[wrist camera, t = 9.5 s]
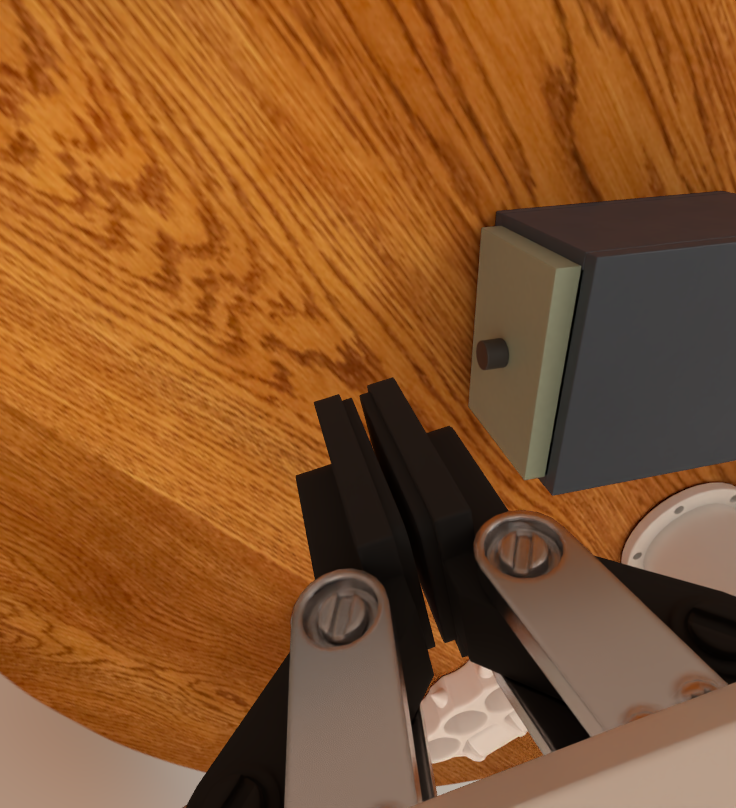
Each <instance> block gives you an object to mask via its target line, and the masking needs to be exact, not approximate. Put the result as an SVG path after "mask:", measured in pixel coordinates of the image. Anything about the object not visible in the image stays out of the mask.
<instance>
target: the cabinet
mask: <svg viewBox="0 0 736 808" xmlns="http://www.w3.org/2000/svg"><path fill="white" fill-rule="evenodd" d="M495 226H503V227H505V228H507V229H509V230H511V231H513V232H515V233H517V234H519V235H521V236H523V237H525V238H527V239H529V240H531V241H533V242H535V243H537V244H539V245H541V246H543V247H545V248H547V249H549V250H551V251H553V252H555V253H557V254H559V255H561V256H563V257H565V258H567V259H568V260H570V261H572V262H574V263H576V264H578V265H580V266H581V270H583V277H582V282H581V288H580V294H579V299H578V305H577V310H576V316H575V322H574V327H573V333H572V338H571V344H570V350H569V355H568V361H567V366H566V372H565V377H564V383H563V389H562V394H561V400H560V405H559V411H558V417H557V422H556V428H555V433H554V439H553V443H552V442H551V443H550V449H549V455H548V460H547V466H546V472H545V476H544V477H539V478H538V479H539V480H540V481H541V482H542V484H543V485H544V486H545V487H546V488H547V490H548V491H549V492H550V493H551V495H558V494H564V493H569V492H574V491H579V490H584V489H589V488H595V487H600V486H605V485H610V484H615V483H621V482H626V481H631V480H636V479H641V478H646V477H652V476H657V475H662V474H667V473H672V472H678V471H683V470H688V469H693V468H698V467H703V466H709V465H714V464H719V463H724V462H729V461H735V460H736V194H735V193H730V192H725V191H715V192H704V193H693V194H682V195H670V196H659V197H648V198H637V199H626V200H614V201H603V202H592V203H581V204H570V205H559V206H547V207H536V208H525V209H514V210H503V211H497V212H496V222H495Z"/></svg>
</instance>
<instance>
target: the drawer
mask: <svg viewBox="0 0 736 808" xmlns="http://www.w3.org/2000/svg"><path fill="white" fill-rule="evenodd" d="M582 277H583V270H581V266H580V265H578V264H576V263H574V262H572V261H570V260H568V259H567V258H565V257H563V256H561V255H559V254H557V253H555V252H553V251H551V250H549V249H547V248H545V247H543V246H541V245H539V244H537V243H535V242H533V241H531V240H529V239H527V238H525V237H523V236H521V235H519V234H517V233H515V232H513V231H511V230H509V229H507V228H505V227H503V226H493V227H482V229H481V243H480V256H479V270H478V283H477V297H476V310H475V324H474V337H473V351H472V364H471V378H470V391H469V405H468V406H469V408H470V409H471V410H472V412H473V413H474V414H475V416H476V417H477V418H478V420H479V421H480V422H481V424H482V425H483V426H484V428H485V429H486V430H487V432H488V433H489V434H490V436H491V437H492V438H493V440H494V441H495V442H496V443H497V445H498V446H499V447H500V449H501V450H502V451H503V453H504V454H505V455H506V457H507V458H508V459H509V461H510V462H511V463H512V465H513V466H514V467H515V469H516V470H517V471H518V472H519V474H520V475H521V476H522V478H523V479H524V480H529V479H534V478H539V477H544V476H545V472H546V466H547V460H548V455H549V449H550V443H551V442H552V443H553V439H554V433H555V428H556V422H557V417H558V411H559V405H560V400H561V394H562V389H563V383H564V377H565V372H566V366H567V361H568V355H569V350H570V344H571V338H572V333H573V327H574V322H575V316H576V310H577V305H578V299H579V294H580V288H581V282H582Z"/></svg>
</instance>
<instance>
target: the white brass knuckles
mask: <svg viewBox="0 0 736 808" xmlns="http://www.w3.org/2000/svg"><path fill="white" fill-rule="evenodd" d="M421 706H422V709H423V714H424V720H425V726H426V732H427V738H428V744H429V750H430V755H431V761H432V763H438V762H442V761H445V760H448V759H450V758H452V757H458V756H467V757H468V758H470V759H472V760H473V761H478V762H481V761H483V760H484V759H485V758H486V756H487V755H488V754H490V753H492V752H493V751H495V750H497V749H498V748H500V747H502V746H503V745H505V744H507V743H509V742H510V741H512V740H514V739H515V738H517V737H522V736H524V735H525V734H526V732H527V731H528V730H527V728H526V727H525V725H524V724H523V722H522V721H521V719H520V718H519V716H518V715H517V713H516V711H515V710H514V708H513V707H512V705H511V704H510V702H509V701H508V699H507V697H506V696H505V694H504V693H503V691H502V690H501V688H500V687H499V685H498V683H497V681H496V679H495V677H494V675H493V673H492V671H491V670H489V669H487V668H484V667H482V666H480V665H477V664H475V663H473V662H471V661H470V660H469V661H468V662H467V663H466V664H465V665H464V666H463V667H461V668H460V669H458V670H457V671H455V672H453V673H451V674H448V675H445V676H443V677H441V678H440V679H439V680H438V681H437V682H436V683H435V684H434V685H433V686H432V687H431V688H430V690H429V693H428V694H427V696H426V697H425V698H424V699H423V700H422V701H421Z"/></svg>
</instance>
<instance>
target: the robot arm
mask: <svg viewBox="0 0 736 808" xmlns="http://www.w3.org/2000/svg"><path fill="white" fill-rule="evenodd" d="M367 388H368V393H365V394H362V395H360V401H361V405H362V408H363V412H364V416H365V420H366V423H367V427H368V431H369V435H370V438H371V442H372V446H373V448H372V446H371V443H370V441H369V438H368V436H367V433H366V431H365V429H364V426H363V424H362V421H361V419H360V417H359V414H358V412H357V409H356V407H355V405H354V402H353V400H352V398H349V399H346V400H343V401H342V400H341V397H340V395H339V394H338V395H335V396H332V397H329V398H325V399H322V400H319V401H316V402H314V405H315V409H316V412H317V416H318V419H319V423H320V426H321V429H322V433H323V436H324V440H325V443H326V447H327V450H328V453H329V457H330V460H331V464H330V465H327V466H324V467H321V468H318V469H314V470H311V471H308V472H305V473H302V474H299V475H296V482H297V487H298V493H299V498H300V503H301V508H302V514H303V519H304V524H305V529H306V535H307V540H308V545H309V550H310V556H311V561H312V566H313V571H314V577H315V580H314V581H313V582H311V583H310V584H309V585H308V587H307V588H306V589H305V590H304V591H303V592H302V593H301V594H300V596H299V598H298V600H297V602H296V604H295V606H294V609H293V614H292V619H291V641H290V653H289V654H288V655H287V657H286V658H285V660H284V661H283V663H282V664H281V666H280V667H279V668H278V670H277V671H276V673H275V674H274V676H273V677H272V679H271V680H270V681H269V683H268V684H267V686H266V687H265V689H264V690H263V692H262V693H261V694H260V696H259V697H258V699H257V700H256V702H255V703H254V705H253V706H252V707H251V709H250V710H249V712H248V713H247V715H246V716H245V718H244V719H243V720H242V722H241V723H240V725H239V726H238V728H237V729H236V731H235V732H234V733H233V735H232V736H231V738H230V739H229V741H228V742H227V744H226V745H225V746H224V748H223V749H222V751H221V752H220V754H219V755H218V757H217V758H216V759H215V761H214V762H213V764H212V765H211V767H210V768H209V770H208V771H207V772H206V774H205V775H204V777H203V778H202V780H201V781H200V783H199V784H198V786H197V787H196V789H195V791H194V793H193V795H192V796H191V798H190V800H189V802H188V804H187V805H186V806H184V807H183V808H736V487H735V486H733V485H731V484H727V483H722V482H721V483H707V484H702V485H697V486H694V487H691V488H688V489H685V490H683V491H681V492H679V493H677V494H675V495H673V496H671V497H670V498H668V499H667V500H665V501H664V502H662V503H660V504H659V505H658V506H657V507H655V508H654V509H653V510H652V511H650V512H649V513H648V514H647V515H646V516H645V517H644V518H643V519H642V520H641V521H640V522H639V524H638V525H637V526H636V527H635V529H634V530H633V531H632V533H631V535H630V536H629V538H628V540H627V542H626V544H625V547H624V550H623V553H622V560H621V563H619V562H615V561H611V560H608V559H604V558H601V557H597V556H594V555H593V554H592V553H591V552H590V551H589V550H588V549H586V548H585V547H584V546H583V545H582V544H581V543H580V542H579V541H578V540H577V539H576V538H575V537H574V536H573V535H572V534H571V533H570V532H569V531H568V530H567V529H566V528H565V527H564V526H562V525H561V524H560V523H558V522H557V521H555V520H554V519H553V518H551V517H549V516H546V515H544V514H541V513H538V512H533V511H526V510H518V511H508V509H507V508H506V507H505V505H504V504H503V502H502V501H501V499H500V498H499V496H498V495H497V493H496V492H495V490H494V489H493V487H492V486H491V484H490V483H489V481H488V480H487V478H486V477H485V475H484V474H483V472H482V471H481V469H480V468H479V466H478V465H477V463H476V462H475V460H474V459H473V457H472V456H471V454H470V453H469V451H468V450H467V448H466V447H465V445H464V444H463V442H462V441H461V440H460V438H459V437H458V435H457V434H456V432H455V431H454V430H453V428H452V427H450V426H447V427H444V428H441V429H438V430H435V431H432V432H429V433H426V432H425V430H424V429H423V427H422V425H421V423H420V422H419V420H418V418H417V417H416V415H415V413H414V411H413V410H412V408H411V406H410V405H409V403H408V401H407V400H406V398H405V396H404V394H403V393H402V391H401V389H400V388H399V386H398V384H397V382H396V381H395V379H394V378H389V379H386V380H383V381H380V382H376V383H373V384H370V385H367ZM420 584H421V585H420ZM421 587H422V589H423V592H424V594H425V597H426V599H427V602H428V604H429V607H430V609H431V612H432V614H433V617H434V619H435V622H436V624H437V627H438V629H439V632H440V634H441V637H442V639H443V641H444V643H447V642H450V641H452V640H455V641H456V644H457V646H458V648H459V651H460V653H461V656H462V658H463V657H465V656H468V657H469V659H470V661H471V662H473V663H475V664H477V665H480V666H482V667H484V668H487V669H489V670H491V671H492V673H493V675H494V677H495V679H496V681H497V683H498V685H499V687H500V688H501V690H502V691H503V693H504V694H505V696H506V697H507V699H508V701H509V702H510V704H511V705H512V707H513V708H514V710H515V711H516V713H517V715H518V716H519V718H520V719H521V721H522V722H523V724H524V725H525V727H526V728H527V730H528V732H529V733H530V735H531V736H532V738H533V739H534V741H535V742H536V744H537V746H538V747H539V749H540V750H541V752H542V753H543V756H541V757H538V758H536V759H533V760H530V761H528V762H525V763H523V764H520V765H517V766H515V767H512V768H510V769H507V770H504V771H502V772H499V773H497V774H494V775H491V776H489V777H486V778H484V779H481V780H479V781H476V782H473V783H471V784H468V785H466V786H463V787H460V788H458V789H455V790H453V791H450V792H447V793H445V794H442V795H440V796H437V791H436V785H435V779H434V773H433V767H432V761H431V755H430V750H429V744H428V738H427V732H426V726H425V720H424V714H423V709H422V706H421V701H422V699H423V697H424V695H425V693H426V691H427V689H428V687H429V684H430V682H431V680H432V678H433V676H434V673H433V669H432V665H431V661H430V658H429V654H428V650H427V649H430V648H433V647H435V642H434V638H433V634H432V630H431V626H430V622H429V618H428V614H427V609H426V605H425V601H424V597H423V593H422V589H421Z"/></svg>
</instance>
